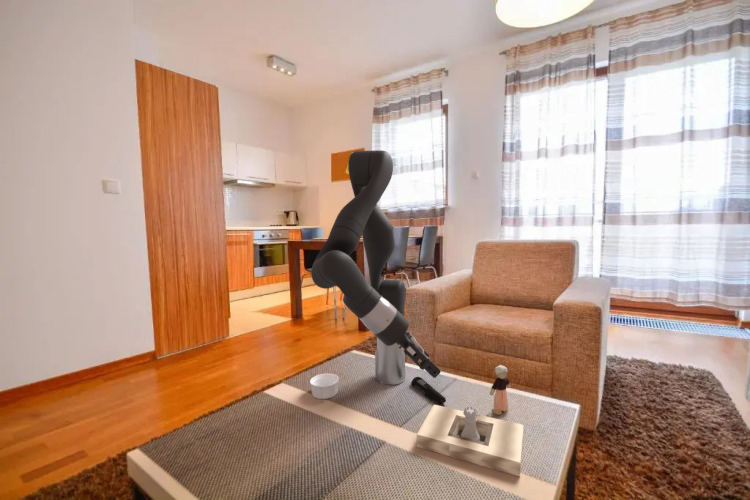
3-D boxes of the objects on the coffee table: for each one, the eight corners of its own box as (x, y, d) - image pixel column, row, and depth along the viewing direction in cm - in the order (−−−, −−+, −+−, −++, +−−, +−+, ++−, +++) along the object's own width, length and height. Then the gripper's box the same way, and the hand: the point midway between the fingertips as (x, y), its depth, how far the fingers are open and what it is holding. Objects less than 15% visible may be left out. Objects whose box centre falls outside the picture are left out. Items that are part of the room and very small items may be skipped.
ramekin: (304, 397, 101) (304, 383, 101) (320, 384, 109) (319, 371, 109) (330, 402, 98) (329, 388, 97) (344, 388, 106) (344, 375, 106)
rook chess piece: (483, 441, 79) (483, 408, 79) (475, 451, 76) (475, 417, 75) (466, 433, 82) (466, 402, 82) (457, 442, 79) (457, 410, 78)
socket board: (416, 446, 78) (416, 434, 78) (434, 415, 90) (434, 404, 90) (520, 476, 68) (520, 462, 68) (523, 436, 81) (523, 424, 80)
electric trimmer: (438, 409, 94) (438, 398, 94) (410, 385, 108) (410, 375, 108) (449, 406, 95) (449, 395, 95) (420, 382, 110) (420, 373, 109)
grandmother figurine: (500, 418, 88) (501, 372, 87) (487, 412, 91) (487, 367, 90) (514, 407, 93) (515, 363, 92) (501, 402, 96) (502, 359, 95)
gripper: (402, 317, 69) (454, 367, 71) (389, 300, 83) (433, 343, 86) (376, 343, 69) (429, 393, 71) (368, 322, 83) (412, 364, 85)
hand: (431, 366), depth 78 cm, fingers open, 8 cm apart
